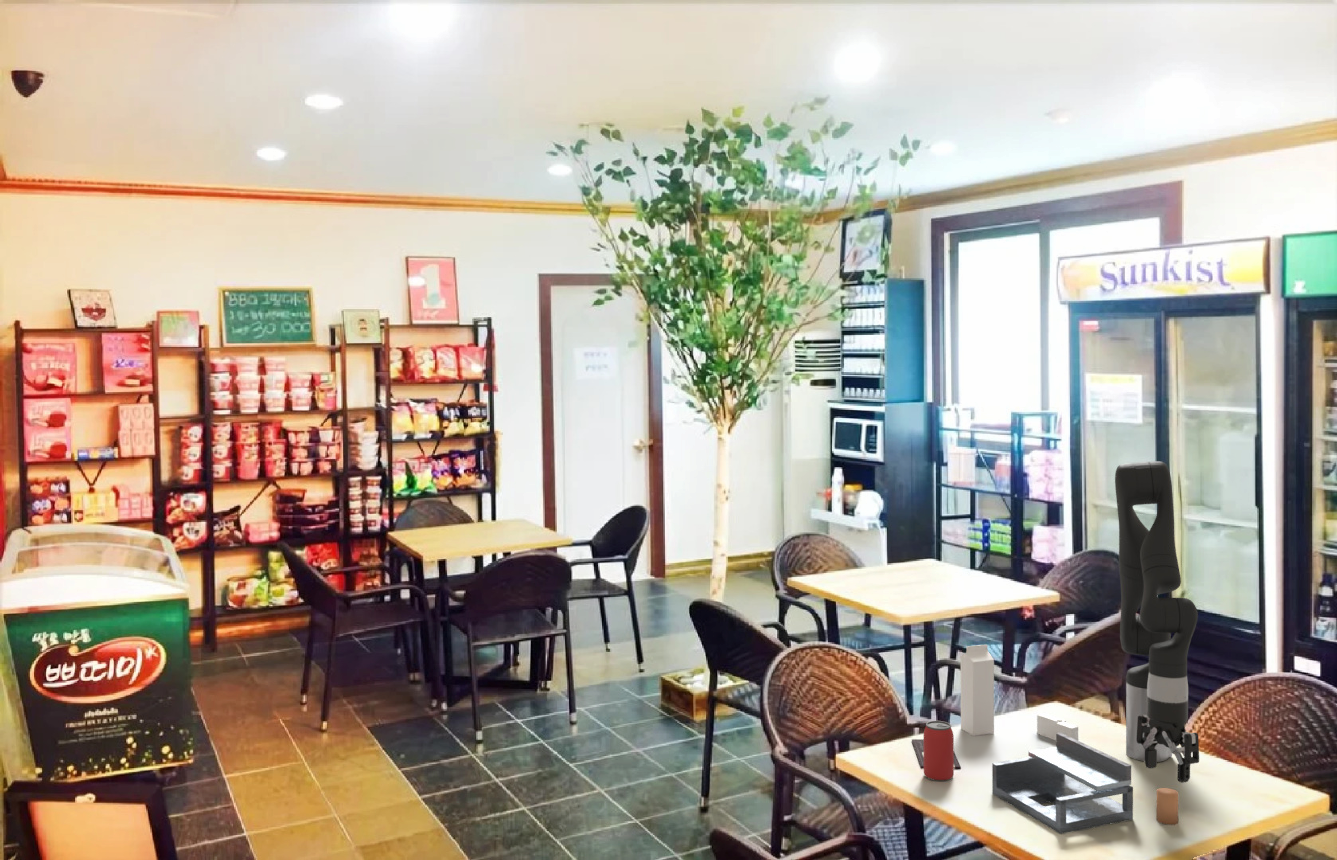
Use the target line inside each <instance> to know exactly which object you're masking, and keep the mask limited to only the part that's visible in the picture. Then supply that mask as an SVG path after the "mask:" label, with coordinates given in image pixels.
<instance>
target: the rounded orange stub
mask: <svg viewBox="0 0 1337 860" xmlns="http://www.w3.org/2000/svg"><path fill="white" fill-rule="evenodd" d="M1155 815H1156V817H1155V819H1156V822H1159V824H1160V823H1161V824H1164V825H1170V826H1171V825H1172V826H1175V825H1177V824H1178V823H1179V791H1177V790H1175V789H1173V788H1167V787H1160V788H1157V789H1156V814H1155Z"/></svg>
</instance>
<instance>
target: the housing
mask: <svg viewBox="0 0 1337 860" xmlns="http://www.w3.org/2000/svg"><path fill="white" fill-rule="evenodd" d="M991 767H992V768H991V769H992V770H991V771H992V774H991V775H992V776H991V777H992V779H991V780H992V785H991V786H992V788H991V791H992V792H991V793H992V795H994V796H995V797H997V798H999V799H1000V800H1002V801H1004V802H1006V803H1007V804H1009V805H1011V806H1012V807H1013V808H1016V809H1018V810H1019V811H1021V812H1023V813H1024V814H1026V815H1027V816H1029V817H1031V818H1032V819H1034V820H1036V821H1037V822H1039V823H1041V824H1043V825H1044V826H1046V827H1048V828H1050V829H1051V830H1053V831H1055V832H1056V833H1057V834H1059V835H1063V834H1068V833H1071V832H1072V833H1073V832H1077V831H1083V830H1087V829H1092V828H1097V827H1102V826H1107V825H1111V824H1112V825H1113V824H1116V823H1117V824H1118V823H1122V822H1127V821H1132V820H1134V814H1133V813H1134V786H1131V785H1127V786H1122V787H1116V788H1111V789H1106V790H1100V791H1096V790H1094V789H1092V788H1090V787H1088V786H1086V785H1084V784H1082V783H1080V782H1078V781H1076V780H1074V779H1073V778H1071V777H1069V776H1067V775H1065V774H1063V773H1061V772H1059V771H1057V770H1055V769H1053V768H1051V767H1049V766H1047V765H1045V764H1043V763H1041V762H1039V761H1037V760H1036V759H1034V758H1032V757H1030V756H1028V757H1027V756H1026V757H1021V758H1015V759H1009V760H1002V761H998V762H993V763H992V766H991ZM1119 795H1122V799H1121V800H1122V803H1121V802H1118V801H1117V800H1114V799H1112V798H1111V797H1113V796H1119ZM1045 803H1049V804H1052V805H1047V806H1046V805H1045V806H1044V805H1042V804H1045Z"/></svg>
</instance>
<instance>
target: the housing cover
mask: <svg viewBox="0 0 1337 860" xmlns="http://www.w3.org/2000/svg"><path fill="white" fill-rule="evenodd" d="M1055 741H1056V742H1055V745H1056V746H1053V747H1047V748H1041V749H1033V750H1029V751H1028V757H1032V758H1034V759H1036V760H1037V761H1039V762H1041V763H1043V764H1045V765H1047V766H1049V767H1051V768H1053V769H1055V770H1057V771H1059V772H1061V773H1063V774H1065V775H1066V776H1068V777H1070V778H1072V779H1074V780H1076V781H1078V782H1080V783H1081V784H1083V785H1085V786H1087V787H1089V788H1091V789H1093V790H1095V791H1100V790H1106V789H1111V788H1116V787H1122V786H1127V785H1130V786H1131V785H1132V765H1131V764H1130V763H1127V762H1124V761H1122V760H1120V759H1118V758H1117V757H1114V756H1112V755H1110V754H1107V753H1105V752H1103V751H1101V750H1099V749H1096V748H1095V747H1092V746H1090V745H1088V744H1085V743H1084V742H1082V741H1079V740H1078V741H1077V740H1075V739H1073V738H1071V737H1069V736H1067V735H1064V734H1062V733H1056V740H1055Z"/></svg>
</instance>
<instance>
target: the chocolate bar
mask: <svg viewBox="0 0 1337 860" xmlns="http://www.w3.org/2000/svg"><path fill="white" fill-rule="evenodd" d="M911 742H912V746H913V748H914V752H915V755H916V758H917V760H918V763H919V767H920V769H924V738H923V739H914V738H912V739H911ZM961 768H962V766H961V764H960V762H959V760H958V757H957V755H956V753H955V752H954V770H961Z"/></svg>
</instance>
